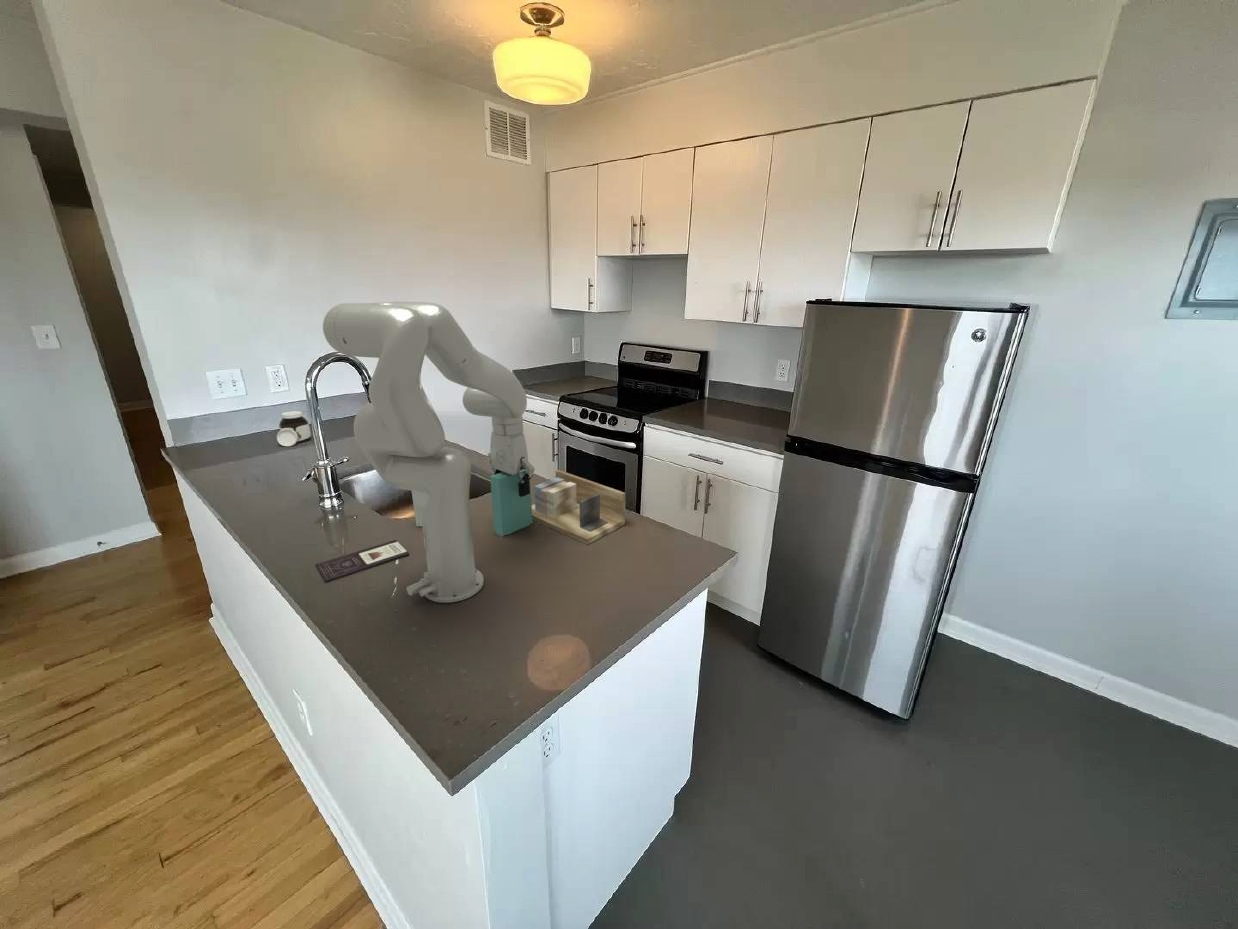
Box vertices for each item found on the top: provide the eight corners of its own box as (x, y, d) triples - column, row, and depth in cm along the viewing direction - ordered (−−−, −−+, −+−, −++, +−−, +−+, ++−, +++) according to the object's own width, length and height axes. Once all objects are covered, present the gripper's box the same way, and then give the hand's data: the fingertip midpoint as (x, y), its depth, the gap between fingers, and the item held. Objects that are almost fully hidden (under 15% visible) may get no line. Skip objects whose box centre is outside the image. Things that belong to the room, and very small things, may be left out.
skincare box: (436, 528, 133) (430, 476, 128) (414, 526, 134) (407, 475, 129) (449, 514, 141) (444, 465, 136) (429, 513, 142) (422, 464, 137)
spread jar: (310, 436, 208) (304, 409, 204) (315, 443, 200) (309, 415, 196) (275, 441, 200) (269, 413, 197) (279, 449, 192) (273, 419, 188)
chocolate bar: (315, 564, 115) (395, 539, 126) (316, 568, 115) (396, 543, 126) (325, 581, 108) (408, 553, 120) (326, 584, 109) (409, 557, 120)
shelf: (587, 544, 126) (587, 510, 123) (520, 514, 142) (518, 483, 139) (624, 524, 137) (625, 492, 134) (559, 498, 153) (558, 469, 150)
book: (502, 536, 130) (498, 479, 124) (494, 532, 132) (490, 476, 126) (532, 523, 137) (529, 469, 131) (524, 519, 139) (521, 466, 134)
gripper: (474, 424, 127) (480, 485, 134) (518, 438, 117) (522, 504, 123) (498, 418, 133) (503, 477, 139) (542, 431, 122) (545, 494, 129)
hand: (512, 490), depth 131 cm, fingers open, 9 cm apart
